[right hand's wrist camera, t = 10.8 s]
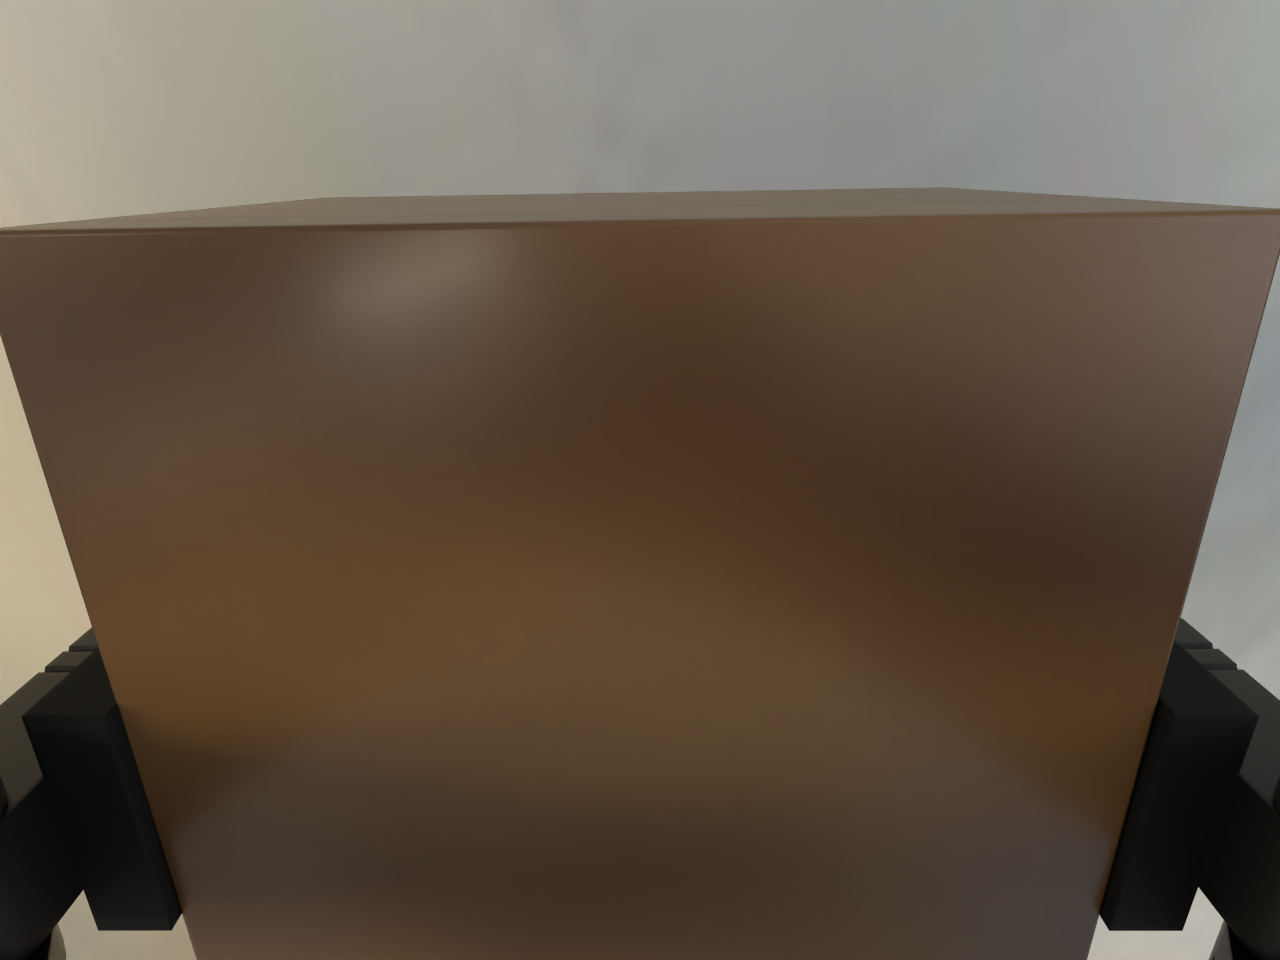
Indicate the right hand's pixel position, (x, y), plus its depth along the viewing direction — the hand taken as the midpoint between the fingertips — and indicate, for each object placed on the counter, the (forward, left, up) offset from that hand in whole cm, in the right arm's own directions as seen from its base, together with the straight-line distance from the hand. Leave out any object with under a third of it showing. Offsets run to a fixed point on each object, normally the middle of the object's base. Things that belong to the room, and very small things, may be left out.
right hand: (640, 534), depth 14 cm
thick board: (+11, -20, -1) cm, 23 cm away
